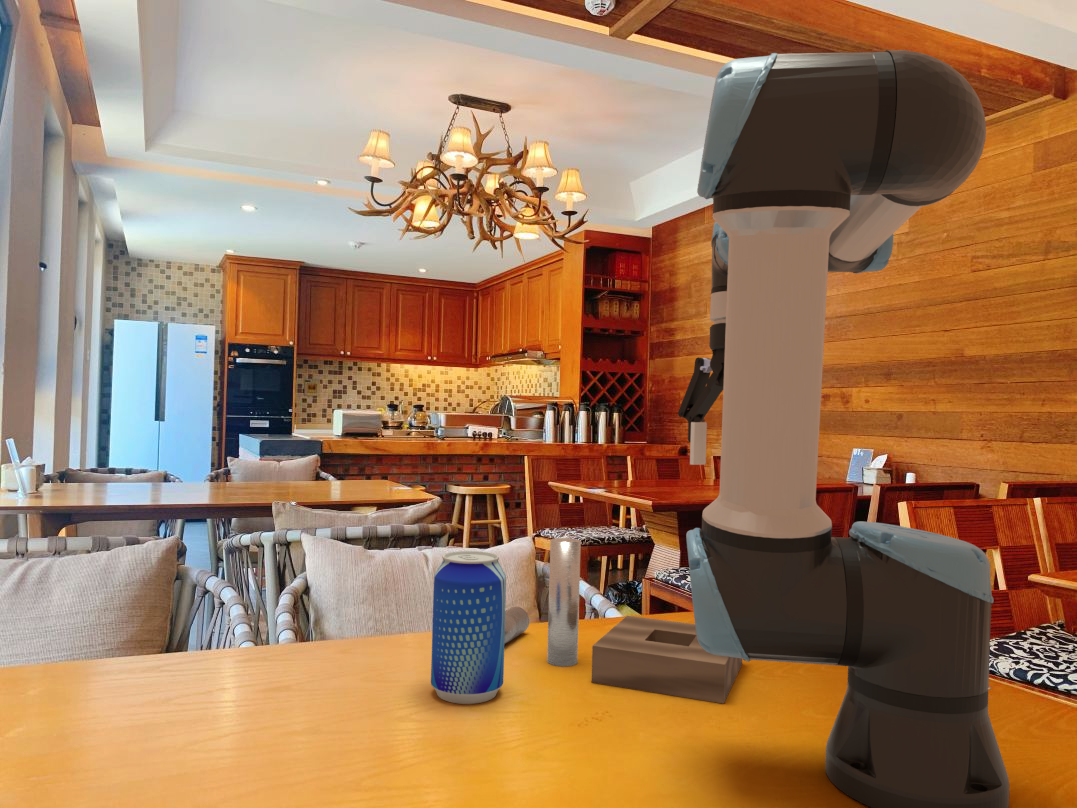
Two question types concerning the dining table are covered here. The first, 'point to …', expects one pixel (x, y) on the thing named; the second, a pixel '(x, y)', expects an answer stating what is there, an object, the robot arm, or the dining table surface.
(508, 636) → the lying peg
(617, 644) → the socket block
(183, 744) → the dining table surface
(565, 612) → the peg
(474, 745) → the dining table surface
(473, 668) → the beer can
